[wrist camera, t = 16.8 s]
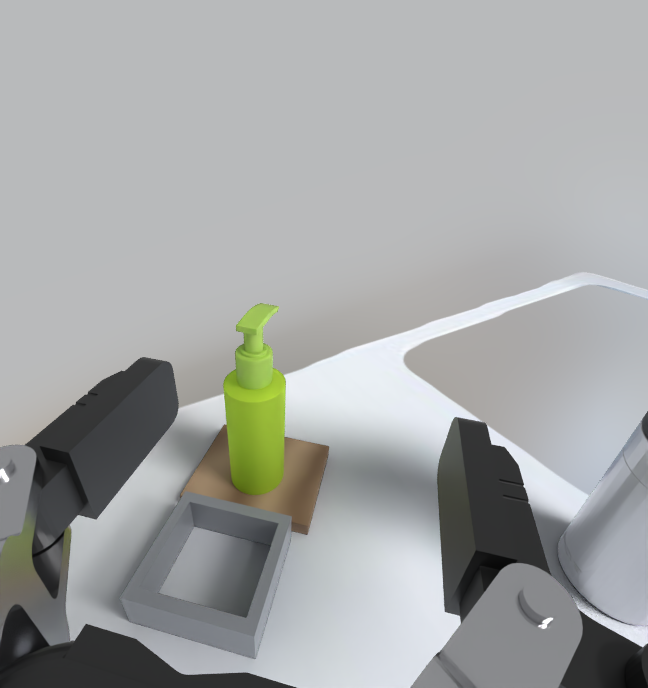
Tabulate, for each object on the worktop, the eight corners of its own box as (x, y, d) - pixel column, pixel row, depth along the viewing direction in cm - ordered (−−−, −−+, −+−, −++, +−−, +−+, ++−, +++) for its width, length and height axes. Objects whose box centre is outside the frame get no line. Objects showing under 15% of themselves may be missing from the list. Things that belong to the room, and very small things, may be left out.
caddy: (290, 540, 38) (291, 516, 36) (255, 659, 30) (254, 636, 28) (190, 515, 40) (185, 490, 38) (129, 621, 31) (119, 597, 29)
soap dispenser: (293, 453, 46) (299, 305, 36) (272, 501, 40) (272, 341, 30) (248, 442, 47) (241, 294, 37) (221, 487, 41) (204, 327, 31)
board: (328, 454, 48) (329, 446, 47) (307, 534, 39) (308, 526, 38) (224, 432, 50) (224, 424, 49) (181, 504, 41) (179, 495, 40)
